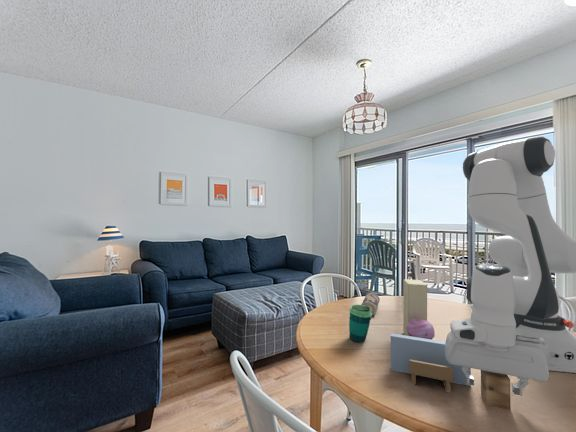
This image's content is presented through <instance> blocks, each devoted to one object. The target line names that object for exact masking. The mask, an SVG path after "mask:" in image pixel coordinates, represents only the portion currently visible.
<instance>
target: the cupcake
mask: <svg viewBox="0 0 576 432" xmlns="http://www.w3.org/2000/svg"><path fill="white" fill-rule="evenodd" d="M406 330H407V332H408V333H409V336H412V337H418V338H425V339H431V340H433V339H434V338H435V328H434V326H433V324H432V323H431V322H430V321H428V320H427V321H426V320H421V319H411V320H410V321H409V322H408V323H407V325H406Z"/></svg>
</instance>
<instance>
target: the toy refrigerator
mask: <svg viewBox="0 0 576 432" xmlns="http://www.w3.org/2000/svg"><path fill="white" fill-rule="evenodd" d="M402 296H403V299H402V300H403V301H402V302H403V303H402V304H403V307H402V308H403V309H402V310H403V315H402V316H403V320H402V323H403V325H402V326H403V329H402V331H403V332H402V333H403V335H405V336H409V333H408V332H407V330H406V325H407V323H408V322H409V321H410V320H411V319H421V320H426V321H428V284H427V283H426V282H424V281H423V280H421V279H409V278H406V279H403V295H402Z"/></svg>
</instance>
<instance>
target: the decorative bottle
mask: <svg viewBox="0 0 576 432" xmlns="http://www.w3.org/2000/svg"><path fill="white" fill-rule="evenodd" d="M379 303H380V297H379V295H378V294H377V293H375V292H367V293H365V297H364V299H363V301H362V302H361V305H365V306H368V307H369V308H370V312H371V313H372V316H373V315H375V314H377V311H378V306H379Z"/></svg>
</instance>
